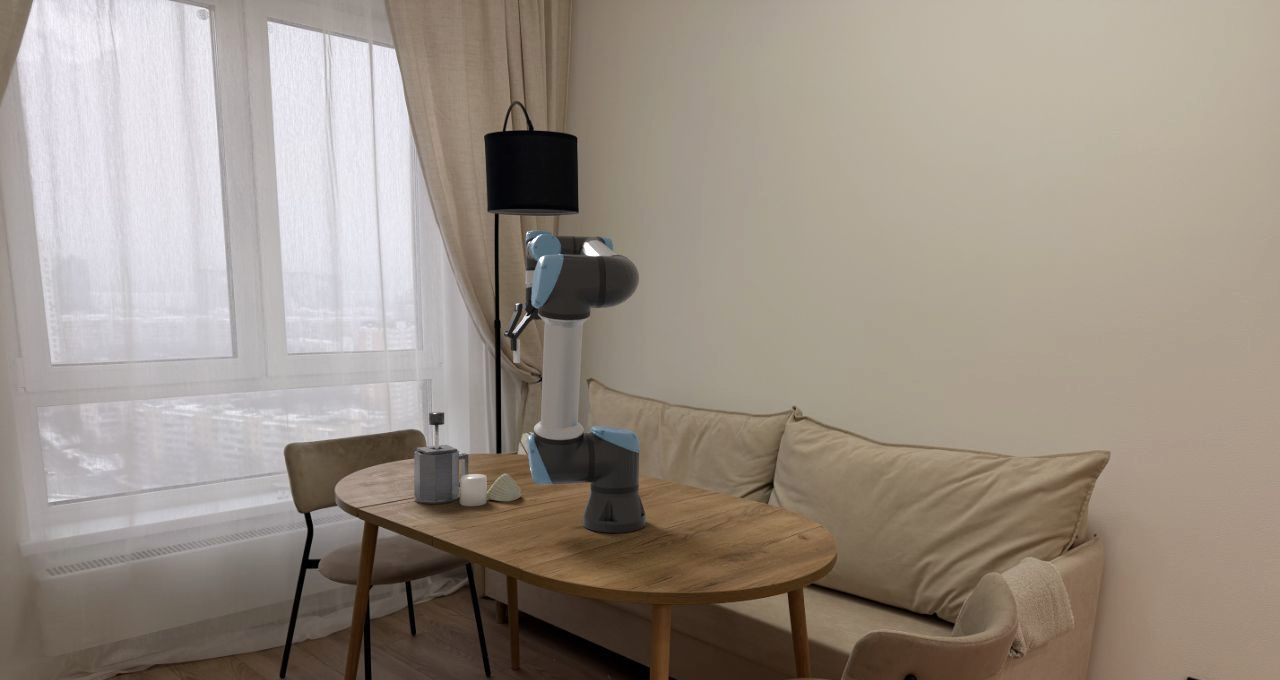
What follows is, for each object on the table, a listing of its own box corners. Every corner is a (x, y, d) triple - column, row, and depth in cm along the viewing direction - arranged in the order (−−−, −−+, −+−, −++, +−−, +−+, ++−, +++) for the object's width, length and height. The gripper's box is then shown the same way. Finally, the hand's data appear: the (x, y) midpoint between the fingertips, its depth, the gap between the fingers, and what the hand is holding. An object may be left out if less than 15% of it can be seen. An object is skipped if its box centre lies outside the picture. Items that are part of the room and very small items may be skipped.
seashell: (529, 491, 207) (507, 480, 203) (510, 515, 208) (487, 505, 203) (520, 475, 214) (498, 464, 209) (501, 498, 214) (479, 487, 210)
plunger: (455, 483, 206) (455, 413, 206) (427, 487, 202) (427, 415, 201) (445, 478, 212) (445, 410, 212) (418, 481, 208) (418, 412, 208)
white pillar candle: (490, 503, 203) (490, 477, 203) (465, 507, 199) (465, 480, 199) (480, 498, 209) (480, 472, 208) (455, 501, 205) (455, 475, 204)
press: (474, 499, 208) (474, 448, 207) (423, 506, 200) (423, 453, 199) (459, 490, 217) (459, 442, 216) (409, 497, 209) (409, 447, 208)
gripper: (571, 287, 225) (570, 360, 226) (492, 285, 211) (491, 362, 212) (584, 287, 219) (583, 361, 220) (503, 285, 205) (503, 364, 205)
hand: (538, 362), depth 216 cm, fingers open, 13 cm apart
